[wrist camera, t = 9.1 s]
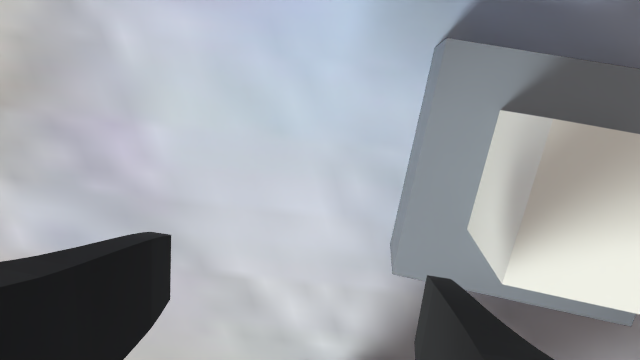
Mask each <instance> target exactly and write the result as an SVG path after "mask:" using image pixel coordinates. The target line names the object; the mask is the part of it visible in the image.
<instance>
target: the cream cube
mask: <svg viewBox="0 0 640 360" xmlns="http://www.w3.org/2000/svg"><path fill="white" fill-rule="evenodd" d="M467 230H468V231H469V233H470V235H471V236H472V238H473V239H474V241H475V242H476V244H477V246H478V247H479V249H480V250H481V252H482V253H483V255H484V257H485V258H486V260H487V261H488V263H489V264H490V266H491V268H492V269H493V271H494V272H495V274H496V275H497V277H498V279H499V280H500V282H501V283H502V284H503V285H508V286H512V287H517V288H522V289H526V290H531V291H535V292H540V293H544V294H549V295H553V296H558V297H563V298H567V299H572V300H576V301H581V302H585V303H590V304H594V305H599V306H604V307H608V308H613V309H617V310H622V311H626V312H631V313H636V314H640V134H636V133H630V132H625V131H619V130H614V129H608V128H602V127H597V126H591V125H586V124H580V123H574V122H569V121H563V120H558V119H552V118H546V117H540V116H534V115H528V114H521V113H515V112H509V111H503V110H500V112H499V116H498V119H497V123H496V126H495V130H494V134H493V137H492V141H491V144H490V148H489V152H488V155H487V159H486V163H485V166H484V170H483V173H482V177H481V181H480V184H479V188H478V192H477V195H476V199H475V202H474V206H473V210H472V213H471V217H470V221H469V224H468V228H467Z"/></svg>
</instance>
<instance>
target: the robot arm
mask: <svg viewBox="0 0 640 360" xmlns="http://www.w3.org/2000/svg"><path fill="white" fill-rule="evenodd" d="M170 269H171V235H168V234H161V233H155V232H143V233H137V234H131V235H127V236H122V237H118V238H113V239H109V240H105V241H101V242H97V243H92V244H88V245H84V246H80V247H76V248H71V249H66V250H62V251H57V252H52V253H48V254H43V255H39V256H33V257H28V258H22V259H16V260H10V261H3V262H0V360H123V359H124V358H125V357H126V356H127V355H128V354H129V353H130V352H131V351H132V349H133V348H134V347H135V346H136V345H137V344H138V343H139V341H140V340H141V339H142V338H143V337H144V336H145V335H146V333H147V332H148V331H149V330H150V329H151V328H152V326H153V325H154V323H155V322H156V320H157V319H158V317H159V316H160V315H161V313H162V311H163V310H164V308H165V307H166V305H167V303H168V302H169V300H170ZM415 360H554V359H552V358H551V357H549V356H548V355H546V354H545V353H543V352H542V351H540V350H538V349H537V348H536V347H534V346H533V345H531V344H530V343H528V342H527V341H526V340H524V339H523V338H522V337H520V336H519V335H518V334H517V333H515V332H514V331H513V330H511V329H510V328H509V327H507V326H506V325H505V324H504V323H502V322H501V321H500V320H499V319H497V318H496V317H495V316H494V315H493V314H491V313H490V312H489V311H488V310H487V309H486V308H484V307H483V306H482V305H481V304H480V303H479V302H478V301H476V300H475V299H474V298H473V297H472V296H471V295H470V294H469V293H467V292H466V291H465V290H464V289H463V288H462V287H461V286H459V285H458V284H457V283H456V282H454V281H453V280H452V279H448V278H442V277H436V276H429V275H427V278H426V283H425V289H424V294H423V300H422V305H421V310H420V316H419V321H418V327H417V332H416V338H415Z"/></svg>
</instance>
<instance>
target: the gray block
mask: <svg viewBox="0 0 640 360" xmlns="http://www.w3.org/2000/svg"><path fill="white" fill-rule="evenodd" d="M500 110H503V111H509V112H515V113H521V114H528V115H534V116H540V117H546V118H552V119H558V120H563V121H569V122H574V123H580V124H586V125H591V126H597V127H602V128H608V129H614V130H619V131H625V132H630V133H636V134H640V69H638V68H632V67H625V66H619V65H613V64H607V63H600V62H594V61H588V60H582V59H575V58H569V57H563V56H557V55H550V54H544V53H538V52H532V51H526V50H519V49H513V48H507V47H501V46H494V45H488V44H482V43H476V42H469V41H463V40H457V39H451V38H446V39H445V40H444V41H443V42H441V43H440V44H439V45H438V46H436V47H435V49H434V53H433V58H432V62H431V67H430V71H429V75H428V80H427V84H426V89H425V93H424V97H423V102H422V106H421V111H420V115H419V119H418V124H417V128H416V133H415V137H414V142H413V146H412V150H411V155H410V159H409V164H408V168H407V172H406V177H405V181H404V186H403V190H402V194H401V199H400V203H399V208H398V212H397V216H396V221H395V225H394V230H393V234H392V239H391V243H390V249H391V263H392V274H394V275H399V276H403V277H408V278H412V279H417V280H422V281H426V278H427V275H429V276H436V277H442V278H448V279H452V280H453V281H454V282H456V283H457V284H458V285H459V286H461V287H462V288H463V289H464V290H467V291H471V292H476V293H480V294H485V295H490V296H494V297H499V298H503V299H508V300H512V301H517V302H521V303H526V304H530V305H535V306H539V307H544V308H548V309H553V310H558V311H562V312H567V313H571V314H576V315H580V316H585V317H589V318H594V319H598V320H603V321H607V322H612V323H617V324H621V325H626V326H630V327H631V326H632V324H633V321H634V319H635V316H636V313H631V312H626V311H622V310H617V309H613V308H608V307H604V306H599V305H594V304H590V303H585V302H581V301H576V300H572V299H567V298H563V297H558V296H553V295H549V294H544V293H540V292H535V291H531V290H526V289H522V288H517V287H512V286H508V285H503V284H502V283H501V282H500V280H499V279H498V277H497V275H496V274H495V272H494V271H493V269H492V268H491V266H490V264H489V263H488V261H487V260H486V258H485V257H484V255H483V253H482V252H481V250H480V249H479V247H478V246H477V244H476V242H475V241H474V239H473V238H472V236H471V235H470V233H469V231H468V230H467V228H468V224H469V221H470V217H471V213H472V210H473V206H474V202H475V199H476V195H477V192H478V188H479V184H480V181H481V177H482V173H483V170H484V166H485V163H486V159H487V155H488V152H489V148H490V144H491V141H492V137H493V134H494V130H495V126H496V123H497V119H498V116H499V112H500Z"/></svg>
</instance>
